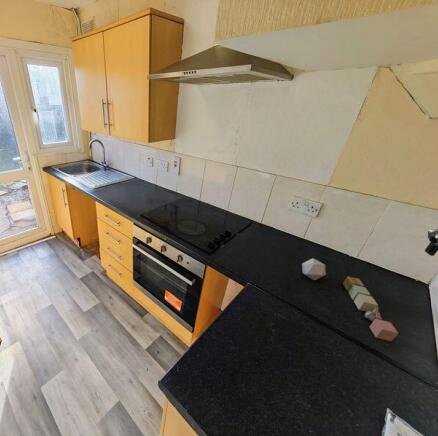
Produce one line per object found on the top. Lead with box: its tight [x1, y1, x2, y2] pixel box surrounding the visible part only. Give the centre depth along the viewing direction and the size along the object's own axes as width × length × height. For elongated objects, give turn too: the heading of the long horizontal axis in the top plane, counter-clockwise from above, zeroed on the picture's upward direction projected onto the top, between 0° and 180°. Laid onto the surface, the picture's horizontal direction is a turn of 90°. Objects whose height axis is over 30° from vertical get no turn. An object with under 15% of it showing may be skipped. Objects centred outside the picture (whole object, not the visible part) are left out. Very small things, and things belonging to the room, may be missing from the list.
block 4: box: [369, 319, 399, 342], centre depth 78 cm, size 4×4×4 cm
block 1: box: [342, 276, 365, 292], centre depth 98 cm, size 4×4×4 cm
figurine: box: [364, 306, 383, 323], centre depth 83 cm, size 5×4×6 cm
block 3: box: [353, 294, 379, 312], centre depth 89 cm, size 4×4×4 cm
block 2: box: [347, 285, 371, 301], centre depth 93 cm, size 4×4×4 cm
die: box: [301, 257, 327, 281], centre depth 103 cm, size 8×9×10 cm
